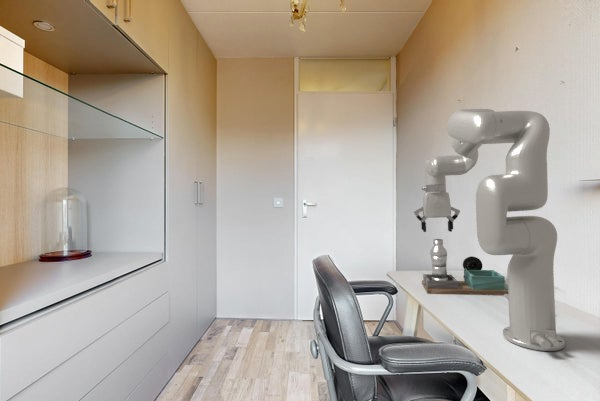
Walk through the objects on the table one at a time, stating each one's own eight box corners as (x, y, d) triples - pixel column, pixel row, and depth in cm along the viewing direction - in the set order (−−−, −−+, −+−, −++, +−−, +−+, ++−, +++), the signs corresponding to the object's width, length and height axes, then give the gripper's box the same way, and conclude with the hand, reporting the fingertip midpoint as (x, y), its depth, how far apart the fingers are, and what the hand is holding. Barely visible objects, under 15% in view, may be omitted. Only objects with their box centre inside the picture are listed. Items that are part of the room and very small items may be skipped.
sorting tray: (508, 295, 114) (507, 277, 114) (427, 293, 121) (426, 276, 121) (494, 285, 128) (493, 269, 128) (421, 283, 134) (421, 268, 134)
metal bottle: (450, 287, 127) (447, 238, 127) (447, 292, 122) (445, 240, 122) (433, 285, 131) (431, 238, 131) (430, 290, 125) (428, 240, 125)
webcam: (465, 280, 136) (464, 258, 136) (461, 276, 143) (460, 254, 144) (485, 281, 134) (484, 258, 134) (480, 277, 141) (479, 255, 141)
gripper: (414, 190, 125) (416, 232, 125) (461, 188, 121) (463, 232, 121) (412, 190, 132) (413, 230, 132) (456, 188, 128) (457, 230, 128)
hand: (437, 231), depth 127 cm, fingers open, 9 cm apart
